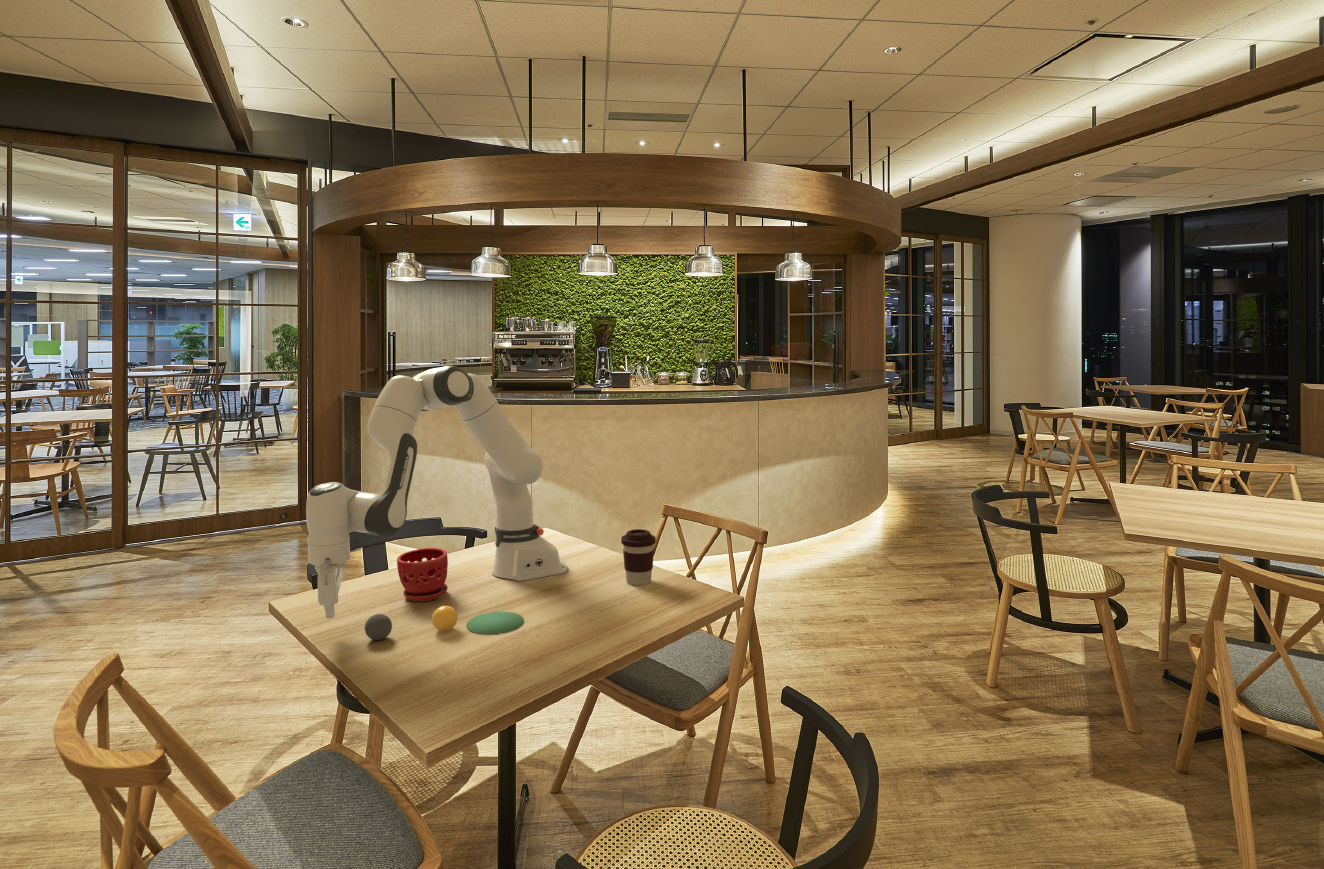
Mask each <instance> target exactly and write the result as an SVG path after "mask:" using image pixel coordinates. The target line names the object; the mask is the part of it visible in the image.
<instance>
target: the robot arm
mask: <svg viewBox="0 0 1324 869" xmlns="http://www.w3.org/2000/svg"><path fill="white" fill-rule="evenodd" d="M448 407H453V408H455V410H456V411H457V413H458V415H459V416H460V419H461V420H462V421H463V423H464V425H465V426H466V427H467V429H468V430H469V432H470V434H471V436H473V438H474V440H475V441H476V443H477V444H478V445H480V447H481V448H482V449H483V450H484V452H485V454H484V457H483V460H484V466H485V467H486V470H487V472H488V475H489V479H490V485H491V488H492V492H493V497H494V499H493V500H494V505H495V527H494V533H493V534H494V545H495V557H494V562H493V568H492V570H491V573H492V574H493V575H494V576H495V577H498V578H502V579H508V580H514V581H518V582H522V581H528V580H533V579H538V578H543V577H548V576H554V575H559V574H565V573H566V572H567V571H568V564H567V563H566V561H565V560H564V559H561V558H560V554H559V551H558V549H557V547H556V546H555V545H554V544H553V543H551V541H548V540H547V539H545V538H544V537H542V536H543V535H544V532H545V531H544V529H543V528H542V527H540V526H539V525H537V524H535V523H534V501H533V498H532V495H531V493H530V492H529V488H528V485H531V484H534V483H536V482H537V481H538V480H539V479H540V477H542V475H543V471H544V462H543V460H542V458H541V456H540V455H539V454H537V453H536V452H535V451H534V450H533V449H532V447H531V446H530V445H529V443H528V442H527V441H526V439H524V437H523V436H522V434H521V433H520V432H519V431H518V430H517V429H516V428H515V426H514V425H513V424H512V423H511V421H510V420H509V418H508V417H507V415H506V414H505V412H504V410H503V408H502V407H501V406H500V404H499V402H498V401H497V399H496V397H495V396H494V394H493V393H492V392H491V390H490V389H489V388H488V386H487V385H486V384H485V382H483V380H481V378H480V377H479V376H478V375H476V374H474V373H472V372H471V373H469V372H468V373H467V372H466V371H465V370H464V369H463V368H460V367H458V366H455V365H445V366H442V367H440V366H439V367H434V368H429V369H427V370H425V371H422V372H419V373H415V374H413V375H412V376H408V375H395V376H393V377H391V378H390V379H389V380H388V381H387V383H386V384H385V385H384V386H383V388H382V390H381V392H380V393H379V395H378V397H377V399H376V401H375V404H374V406H373V407H372V410H371V412H370V415H369V418H368V422H367V426H366V427H367V428H366V429H367V433H368V436H369V438H370V439H371V441H372V442H374V444H375V445H376V446H378V447H379V448H381V449H382V450H384V451H385V452H387V453H388V454H389V456H390V463H389V467H388V472H387V476H386V481H385V484H384V488H383V490H382V491H381V492H379V493H373V492H366V491H361V490H359V491H358V490H354V489H352V488H351V489H350V488H348V487H347V486H345V485H344V484H343V483H341V482H336V481H331V482H329V481H328V482H325V483H320V484H317V485H315V486H313V487H312V488H311V489H310V490H309V491H308V494H307V497H306V503H305V504H306V505H305V515H306V517H305V519H306V526H307V529H308V538H307V553H308V554H307V555H308V563H309V564H310V565H312V566H314V569H315V571H317V572H318V573H317V601H318V604H319V606H323V607H324V611H325V612H324V613H325V618H326V619H328V620H329V619H334V618H335V614H336V612H335V611H336V610H335V608H336V607H335V605H337V604H338V603H339V591H340V588H341V583H342V580H343V575H344V569H345V568H344V567H345V566H346V562H348V561H349V560H351V548H350V547H351V546H350V545H351V544H350V542H351V541H350V532H358V533H365V534H370V535H373V536H377V537H381V538H389V537H392V536H393V535H395V534H397V533H398V532H399V531H400V529H402V528H403V526H404V524H405V522H406V520H407V515H408V510H407V508H408V499H409V493H410V489H411V485H412V479H413V476H414V475H413V474H414V472H415V471H414V469H415V466H416V460H417V455H418V442H417V440H416V438H415V437H414V435H415V434H414V432H415V428H416V425H417V422H418V419H419V416H420V413H421V412H428V411H438V410H443V409H446V408H448Z"/></svg>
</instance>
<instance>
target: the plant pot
mask: <svg viewBox="0 0 1324 869" xmlns="http://www.w3.org/2000/svg"><path fill="white" fill-rule="evenodd" d="M423 559H426V560H425V561H423ZM448 560H449V558H448V553H447V551H446V550H445V549H443V548H439V547H438V548H437V547H425V548H418V549H413V550H408V551H407V552H403V553H402V554H400V555H399V556H397V558H396V565H397V573H398V577H399V578H398V579H399V580H400V582H401V585H402V587H403V589H404V590H403V594H402V595H403V596H404V597H405V599H408V600H409V601H413V602H427V601H433V600H435V599H440V597H442V596H444V595H445V594H446V593H447V591H448V585H447V584H446V581H447V577H448V565H449V562H448Z"/></svg>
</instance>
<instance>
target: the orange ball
mask: <svg viewBox="0 0 1324 869" xmlns="http://www.w3.org/2000/svg"><path fill="white" fill-rule="evenodd" d="M458 618H459V617H458V613H457V611H456V609H455V608H454V607H452V606H450V605H442V606H439V607H438V608H436V609H435V610H434V611H433V613H432V615H431V623H432V625H433V627H434V628H435V629H436V630H437V631H440V632H447V631H451V629H453V628H454V627H455V626H456V624H457V622H458Z"/></svg>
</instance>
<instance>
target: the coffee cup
mask: <svg viewBox="0 0 1324 869" xmlns="http://www.w3.org/2000/svg"><path fill="white" fill-rule="evenodd" d="M620 540H621V545H623V548H622V552H623V555H622V556H623V566H624V570H625V581H626V583H627V584H628V585H630V586H635V587H640V586H641V587H642V586H647V585H648V584H650V583H651V582H652V571H653V567H654V555H655V554H654V553H655V552H654V551H655V549H654V545H655V544H656V542H657V541H656V536H655V535H653V534H652V532H651V531H649V530H647V529H642V528H641V529H640V528H639V529H638V528H637V529H635V528H634V529H630V530H628V531H627V532H626V533H625V534H624V535H622V536H621V539H620Z"/></svg>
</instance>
